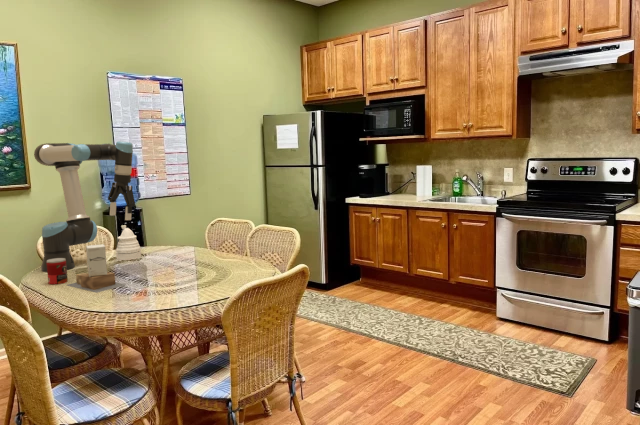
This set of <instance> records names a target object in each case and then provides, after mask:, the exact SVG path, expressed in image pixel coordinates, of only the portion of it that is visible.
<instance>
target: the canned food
mask: <svg viewBox="0 0 640 425" xmlns="http://www.w3.org/2000/svg"><path fill="white" fill-rule="evenodd" d="M46 263H47V281H48V284H49V285H62V284H66V283H68V281H69V280H68V270H67V267H66V259H65V258H54V259H49V260H47V262H46Z"/></svg>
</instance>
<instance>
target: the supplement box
mask: <svg viewBox="0 0 640 425" xmlns="http://www.w3.org/2000/svg"><path fill="white" fill-rule="evenodd" d="M85 250H86V253H85V254H86V264H87V273H88V274H89V277H91V276H99V275H107V272H108V267H107V252H106V245H105V244H92V245H85Z"/></svg>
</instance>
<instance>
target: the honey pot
mask: <svg viewBox="0 0 640 425" xmlns="http://www.w3.org/2000/svg"><path fill="white" fill-rule="evenodd" d="M120 227H121V229H122V231H121V234H120V236H117V240H118V242H117V245H116V248H115V250H116V251H115V252H116V260H120V261H127V260H135V259H140V258H141V257H142V251H141V250H142V249H141V248H142V247H141V246H140V244H139V241H138V240H137V238H138V237H137V235H135V234H134V232H133V230H131V229H130V228H129V227H127V225H126V224H124V225H123V224H122V225H121V226H120Z"/></svg>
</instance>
